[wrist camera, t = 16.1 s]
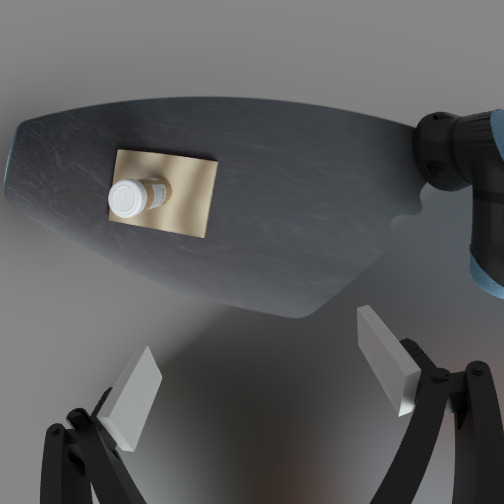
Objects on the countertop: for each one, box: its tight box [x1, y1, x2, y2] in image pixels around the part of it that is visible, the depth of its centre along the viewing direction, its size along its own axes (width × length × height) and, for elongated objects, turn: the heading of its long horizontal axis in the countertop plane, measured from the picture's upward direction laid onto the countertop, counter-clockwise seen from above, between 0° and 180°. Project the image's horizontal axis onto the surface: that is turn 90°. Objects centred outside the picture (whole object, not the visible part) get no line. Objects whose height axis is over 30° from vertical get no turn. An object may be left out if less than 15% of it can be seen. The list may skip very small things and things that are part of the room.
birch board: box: [109, 150, 218, 238], centre depth 43 cm, size 17×12×2 cm
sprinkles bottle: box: [108, 177, 172, 218], centre depth 36 cm, size 5×5×13 cm
